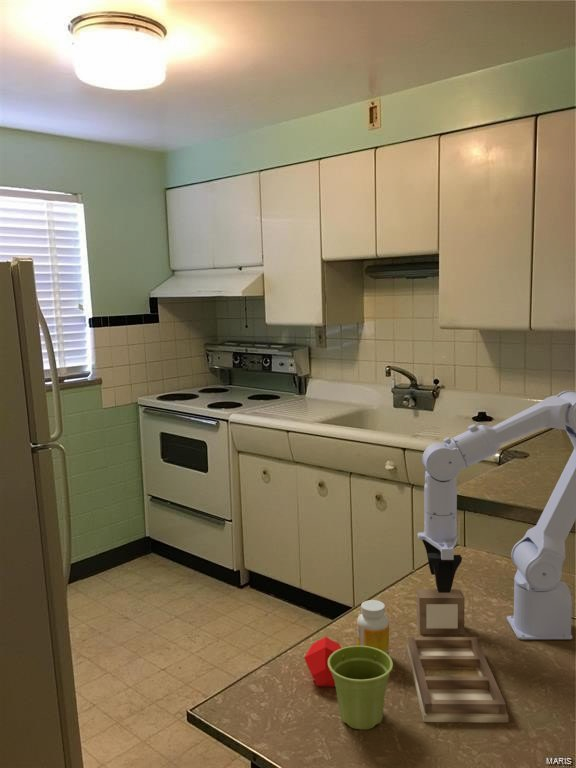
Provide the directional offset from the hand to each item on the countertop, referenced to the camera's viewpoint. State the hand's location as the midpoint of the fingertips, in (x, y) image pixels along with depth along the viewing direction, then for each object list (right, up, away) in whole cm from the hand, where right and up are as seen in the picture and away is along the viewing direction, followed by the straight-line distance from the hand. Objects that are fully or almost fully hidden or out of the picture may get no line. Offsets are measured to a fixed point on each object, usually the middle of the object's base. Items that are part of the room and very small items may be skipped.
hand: (440, 582), depth 121 cm
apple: (-22, -12, -14) cm, 28 cm away
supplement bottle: (-13, -11, -8) cm, 19 cm away
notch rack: (-2, -11, -16) cm, 19 cm away
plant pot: (-17, -13, -24) cm, 32 cm away
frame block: (0, -9, +1) cm, 9 cm away
